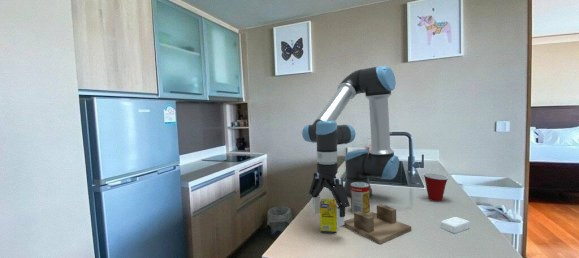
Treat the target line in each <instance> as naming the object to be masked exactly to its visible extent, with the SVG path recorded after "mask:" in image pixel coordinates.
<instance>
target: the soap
mask: <svg viewBox="0 0 579 258" xmlns="http://www.w3.org/2000/svg"><path fill="white" fill-rule="evenodd" d="M440 229H443V230H444V231H448V232H450V233H452V234H457V233H460V232H463V231H466V230H469V229H470V221H469V220H467V219H464V218H462V217H458V216H453V217H450V218H447V219H444V220H441V221H440Z"/></svg>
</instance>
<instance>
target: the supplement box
mask: <svg viewBox="0 0 579 258" xmlns="http://www.w3.org/2000/svg"><path fill="white" fill-rule="evenodd" d="M337 207H338V204H337V202H336V200H335V198H320V213H319V217H320V218H319V222H320V224H319V225H320V227H319V228H320V233H321V234H335V233H336V234H337V228H338V226H337Z"/></svg>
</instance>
